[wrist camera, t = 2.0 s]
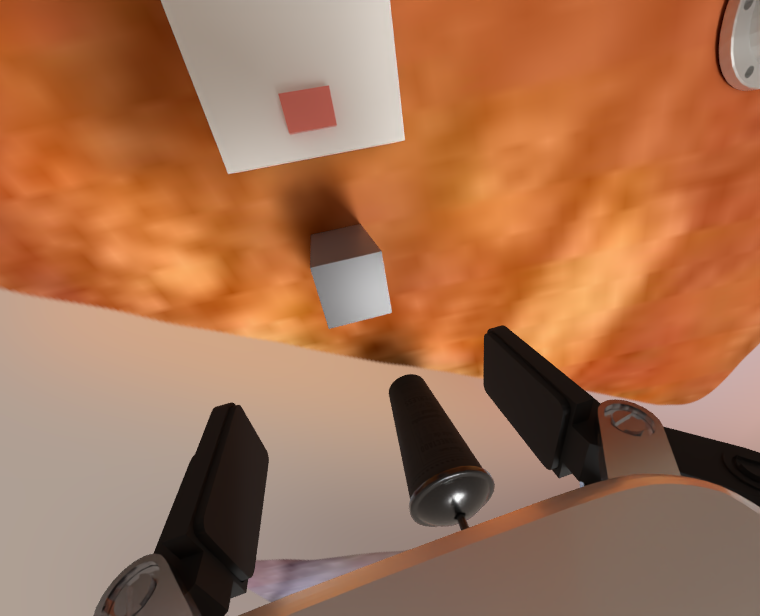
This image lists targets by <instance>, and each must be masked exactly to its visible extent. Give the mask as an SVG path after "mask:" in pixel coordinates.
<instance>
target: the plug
mask: <svg viewBox="0 0 760 616" xmlns="http://www.w3.org/2000/svg"><path fill="white" fill-rule="evenodd" d="M310 269H311V272H312V275H313V279H314V282H315V285H316V288H317V292H318V295H319V298H320V301H321V305H322V308H323V311H324V314H325V318H326V321H327V324H328V328H329V329H330V328H334V327H338V326H342V325H346V324H350V323H354V322H358V321H361V320H365V319H369V318H373V317H377V316H381V315H385V314H389V313H392V310H391V304H390V299H389V293H388V287H387V281H386V275H385V269H384V263H383V257H382V251H381V250H380V249H379V248H378V246H377V245H376V244H375V242H374V241H373V240H372V238H371V237H370V236H369V235H368V233H367V232H366V231H365V229H364V228H363V227H362V226H361V224H358V225H353V226H349V227H344V228H340V229H335V230H330V231H326V232H321V233H317V234H312V235H311V255H310Z"/></svg>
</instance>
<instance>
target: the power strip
mask: <svg viewBox="0 0 760 616" xmlns="http://www.w3.org/2000/svg"><path fill="white" fill-rule="evenodd" d="M161 3H162V5H163V8H164V10H165V13H166V15H167V18H168V21H169V23H170V26H171V28H172V31H173V33H174V36H175V39H176V41H177V44H178V46H179V49H180V51H181V54H182V56H183V59H184V62H185V64H186V67H187V69H188V72H189V74H190V77H191V80H192V82H193V85H194V87H195V90H196V92H197V95H198V98H199V100H200V103H201V105H202V108H203V110H204V113H205V115H206V118H207V121H208V123H209V126H210V128H211V131H212V133H213V136H214V139H215V141H216V144H217V146H218V149H219V151H220V154H221V157H222V159H223V162H224V164H225V167H226V169H227V172H228V174H231V173H238V172H245V171H250V170H255V169H260V168H266V167H271V166H276V165H281V164H287V163H292V162H297V161H302V160H307V159H313V158H318V157H323V156H328V155H334V154H339V153H344V152H349V151H355V150H360V149H365V148H370V147H376V146H381V145H386V144H391V143H395V142H400V141H404V140H405V137H404V127H403V118H402V109H401V99H400V90H399V81H398V71H397V62H396V53H395V43H394V34H393V25H392V15H391V6H390V0H161Z"/></svg>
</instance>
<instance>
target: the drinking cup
mask: <svg viewBox="0 0 760 616" xmlns="http://www.w3.org/2000/svg"><path fill="white" fill-rule="evenodd" d="M389 397H390V402H391V407H392V411H393V417H394V421H395V426H396V431H397V436H398V441H399V446H400V451H401V456H402V461H403V466H404V471H405V476H406V480H407V486H408V491H409V495H410V503H409V510H410V514H411V517H412V518H413V520H414V521H415V522H417V523H418V524H420V525H423V526H429V527H436V526H452V525H456V524H459V526H460V528H461V530H464V529H467V528H469V526H468V523H467V521H466V520H468V519H470V518H471V517H473V516H474V515H475V514H476V513H477V512H478V511H479V510H480V509H481V508H482V507H483V506H484V505H485V504H486V503H487V502H488V501H489V499H490V498H491V496H492V494H493V492H494V481H493V478H492V477H491V475H490V474H489V472H488V471H486V470H485V469H483V468H482V467H481V465H480V464H479V462H478V461H477V459H476V458H475V456H474V455H473V453H472V452H471V451H470V449H469V447H468V446H467V444H466V443H465V441H464V440H463V438H462V437H461V435H460V434H459V432H458V431H457V429H456V428H455V426H454V425H453V423H452V422H451V420H450V419H449V417H448V416H447V414H446V413H445V411H444V410H443V408H442V407H441V405H440V404H439V402H438V401H437V399H436V398H435V397H434V395H433V393H432V392H431V390H430V389H429V387H428V386H427V384H426V383H425V381H424V380H423V379H422V378H421V377H420V376H417V375H413V374H410V375H404V376H402V377H400V378H398V379H396V380H395V381H394V382H393V383H392V385H391V387H390V389H389Z"/></svg>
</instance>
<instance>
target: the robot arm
mask: <svg viewBox="0 0 760 616" xmlns="http://www.w3.org/2000/svg"><path fill="white" fill-rule="evenodd" d="M719 63H720V67H721V70H722V74H723V76H724V77H725V79H726V81H727V82H728V83H729V84H730V85H731V86H732V87H734V88H735V89H739V90H742V91H748V90H757V89H760V0H729V2H728V5H727V8H726V11H725V14H724V18H723V22H722V27H721V31H720V39H719ZM484 388H485V391H486V393H487V394H488V395H489V396H490V398H491V399H492V400H493V401H494V403H495V404H496V405H497V407H498V408H499V409H500V411H501V412H502V413H503V414H504V416H505V417H506V418H507V419H508V421H509V422H510V423H511V424H512V426H513V427H514V428H515V430H516V431H517V432H518V433H519V435H520V436H521V437H522V439H523V440H524V441H525V442H526V444H527V445H528V446H529V447H530V449H531V450H532V451H533V453H534V454H535V455H536V456H537V458H538V459H539V460H540V461H541V463H542V464H543V465H544V466H545V467H546V468H547V469H548V470H553V472H554V473H555V474H556V475H557V477H558V478H561V477H564V476H567V475H569V474H573V475H574V476H575V477H576V478H577V480H578V481H580V488H578V489H575V490H573V491H569V492H566V493H564V494H561V495H558V496H555V497H552V498H549V499H546V500H543V501H540V502H538V503H535V504H532V505H530V506H527V507H524V508H521V509H519V510H516V511H513V512H511V513H508V514H505V515H503V516H500V517H497V518H494V519H491V520H489V521H486V522H483V523H480V524H478V525H475V526H472V527H470V528H467V529H464V530H461V531H459V532H456V533H453V534H451V535H448V536H445V537H443V538H440V539H438V540H435V541H432V542H429V543H427V544H424V545H421V546H419V547H416V548H413V549H410V550H408V551H405V552H402V553H400V554H397V555H394V556H392V557H389V558H386V559H384V560H381V561H378V562H376V563H373V564H370V565H368V566H365V567H362V568H360V569H357V570H355V571H352V572H349V573H347V574H344V575H341V576H339V577H336V578H333V579H331V580H328V581H326V582H323V583H320V584H318V585H315V586H312V587H310V588H307V589H304V590H302V591H299V592H297V593H294V594H291V595H289V596H286V597H284V598H281V599H279V600H276V601H274V602H271V603H269V604H266V605H264V606H261V607H259V608H256V609H254V610H252V611H249V612H246V613H244V614H241V615H239V616H760V453H759V452H756V451H752V450H750V449H746V448H743V447H739V446H736V445H731V444H728V443H724V442H720V441H716V440H713V439H709V438H704V437H701V436H697V435H693V434H689V433H686V432H682V431H678V430H674V429H670V428H666V427H663V426H662V424H661V422H660V420H659V419H658V418H657V417H656V416H655V415H654V414H653V413H651V412H649V411H648V410H647V409H645V408H643V407H641V406H639V405H637V404H635V403H632V402H628V401H624V400H607V401H605V402H603V403H601V404H600V403H599V402H598V401H597V400H595V399H594V398H593V397H592V396H591V395H589V394H588V393H587V392H586V391H584V390H583V389H582V388H581V387H580V386H578V385H577V384H576V383H575V382H573V381H572V380H571V379H570V378H569V377H567V376H566V375H565V374H564V373H562V372H561V371H560V370H559V369H557V368H556V367H555V366H554V365H553V364H551V363H550V362H549V361H548V360H546V359H545V358H544V357H543V356H541V355H540V354H539V353H538V352H536V351H535V350H534V349H533V348H531V347H530V346H529V345H528V344H527V343H525V342H524V341H523V340H522V339H520V338H519V337H518V336H517V335H516V334H514V333H513V332H512V331H511V330H509V329H508V328H507V327H506V326H503V325H502V326H498V327H495V328H491V329H489V330H488V331H487V334H485V335H484ZM268 463H269V457H268V453H267V451H266V449H265V447H264V445H263V444H262V442H261V440H260V438H259V437H258V435H257V433H256V431H255V430H254V428H253V426H252V425H251V423H250V421H249V419H248V418H247V416H246V415H245V412H244V411H243V409H242V407H241V406H240V405H235V404H234V403H228V404H224V405H221V406H217V407H215V408H214V409H213V411H212V412H211V415H210V418H209V420H208V423H207V425H206V428H205V430H204V433H203V436H202V438H201V441H200V443H199V446H198V448H197V451H196V454H195V455H194V456H193V457H192V459H191V461H190V463H189V466H188V468H187V471H186V473H185V476H184V478H183V481H182V483H181V486H180V488H179V491H178V493H177V496H176V498H175V501H174V503H173V506H172V508H171V511H170V514H169V516H168V519H167V521H166V524H165V526H164V529H163V531H162V534H161V536H160V539H159V541H158V544H157V546H156V549H155V551H154V554H150V555H146V556H143V557H142V558H140V559H138V560H136V561H134V562H133V563H132V564H131V565H129V566H128V567H127V568H125V569H124V570H123V571H122V572H121V573H120V574H119V575H118V576H117V577H116V578H115V580H113V582H112V583H111V584H110V586H109V587H108V588H107V590H106V591H105V593H104V594H103V596H102V597H101V599H100V601H99V603H98V605H97V607H96V610H95V613H94V616H228V615H227V612H228V609H229V603H230V598H233V597H236V596H238V595H241V594H244V593H246V590H247V583H248V579H249V578H251V577H252V576H253V573H254V569H255V562H256V554H257V546H258V538H259V531H260V524H261V515H262V509H263V501H264V493H265V485H266V478H267V471H268Z"/></svg>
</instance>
